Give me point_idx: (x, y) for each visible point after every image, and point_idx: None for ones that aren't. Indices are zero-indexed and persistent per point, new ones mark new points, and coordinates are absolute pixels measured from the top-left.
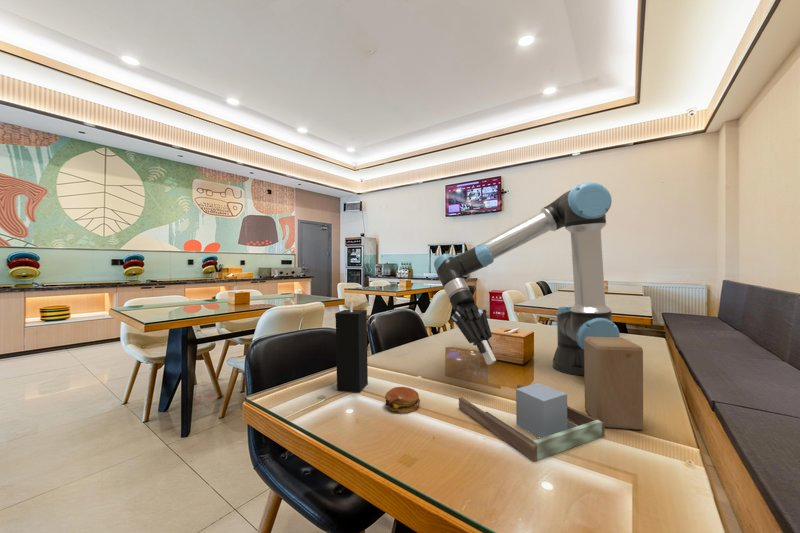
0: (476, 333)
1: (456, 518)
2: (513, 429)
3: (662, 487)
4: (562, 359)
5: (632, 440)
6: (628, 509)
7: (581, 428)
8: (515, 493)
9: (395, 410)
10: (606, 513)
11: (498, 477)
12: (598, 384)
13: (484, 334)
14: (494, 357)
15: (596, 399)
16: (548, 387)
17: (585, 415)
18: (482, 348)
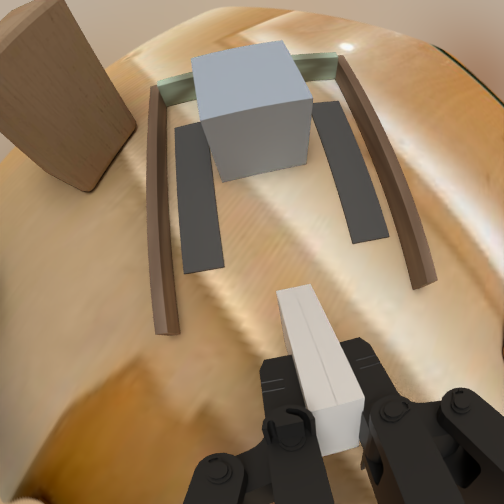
0: (426, 467)
1: (453, 57)
2: (326, 145)
3: (210, 29)
4: None
5: (133, 92)
6: (279, 17)
7: None
8: (390, 51)
9: None
10: (306, 18)
11: (404, 70)
12: (99, 63)
13: (305, 477)
14: (283, 300)
15: (113, 94)
16: (200, 90)
17: (154, 109)
18: (363, 357)
